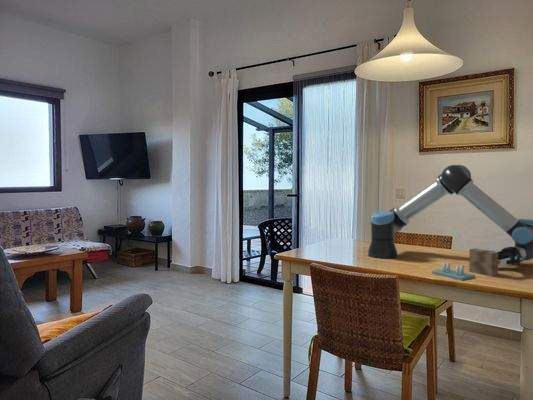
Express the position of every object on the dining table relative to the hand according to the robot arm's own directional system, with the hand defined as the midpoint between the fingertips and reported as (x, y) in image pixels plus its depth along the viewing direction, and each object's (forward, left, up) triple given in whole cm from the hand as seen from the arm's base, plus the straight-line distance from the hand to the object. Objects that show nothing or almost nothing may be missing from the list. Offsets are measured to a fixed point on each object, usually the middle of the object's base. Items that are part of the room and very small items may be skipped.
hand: (485, 260), depth 173 cm
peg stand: (-15, -4, -6) cm, 16 cm away
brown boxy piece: (-1, 0, -6) cm, 6 cm away
